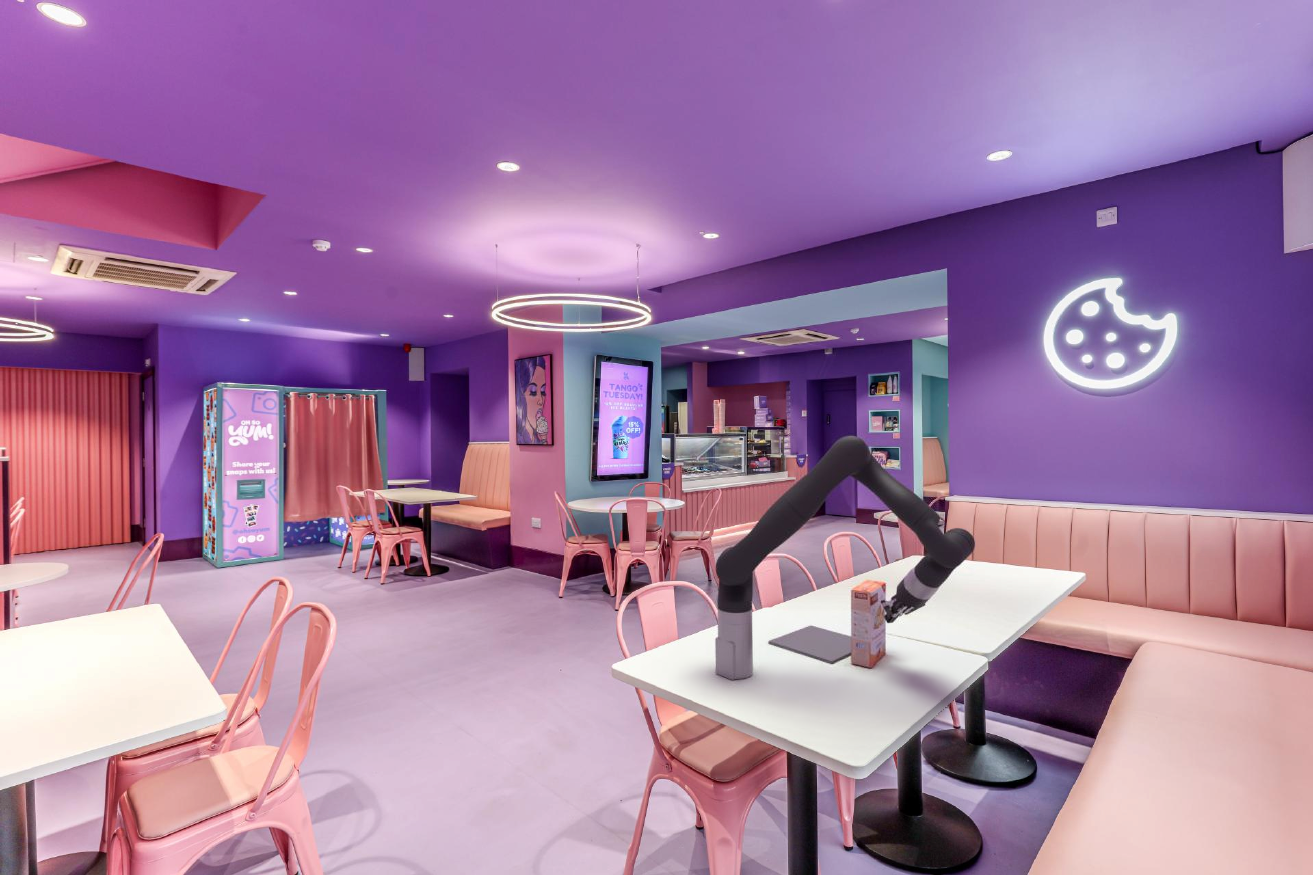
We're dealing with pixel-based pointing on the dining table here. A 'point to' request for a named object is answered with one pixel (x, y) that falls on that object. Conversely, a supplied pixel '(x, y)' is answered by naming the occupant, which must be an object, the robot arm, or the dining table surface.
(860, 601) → the cracker box
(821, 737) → the dining table surface
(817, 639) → the mat
